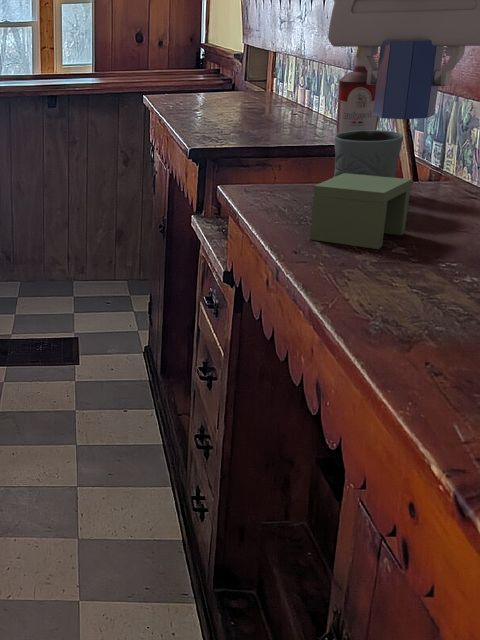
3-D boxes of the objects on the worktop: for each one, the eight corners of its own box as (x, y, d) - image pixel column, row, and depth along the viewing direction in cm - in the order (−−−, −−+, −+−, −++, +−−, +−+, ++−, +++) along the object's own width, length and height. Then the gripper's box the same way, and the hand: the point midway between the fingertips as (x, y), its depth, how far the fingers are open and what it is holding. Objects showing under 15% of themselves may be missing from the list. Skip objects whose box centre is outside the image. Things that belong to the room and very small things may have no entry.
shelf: (404, 233, 127) (411, 179, 124) (378, 249, 121) (384, 192, 118) (338, 224, 134) (343, 173, 131) (309, 239, 127) (314, 185, 124)
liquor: (373, 185, 157) (392, 20, 146) (371, 194, 151) (390, 22, 140) (330, 183, 160) (346, 22, 149) (327, 192, 154) (342, 24, 143)
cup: (440, 112, 109) (450, 36, 105) (421, 120, 104) (431, 41, 101) (386, 110, 113) (395, 37, 109) (366, 117, 108) (374, 41, 105)
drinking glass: (386, 201, 145) (395, 128, 141) (401, 216, 136) (411, 139, 132) (323, 202, 147) (329, 130, 143) (333, 217, 138) (341, 141, 133)
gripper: (324, -31, 106) (315, 86, 112) (508, -44, 93) (488, 90, 98) (346, -32, 110) (336, 80, 116) (525, -44, 97) (504, 83, 103)
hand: (407, 85), depth 107 cm, fingers closed on cup, 6 cm apart
